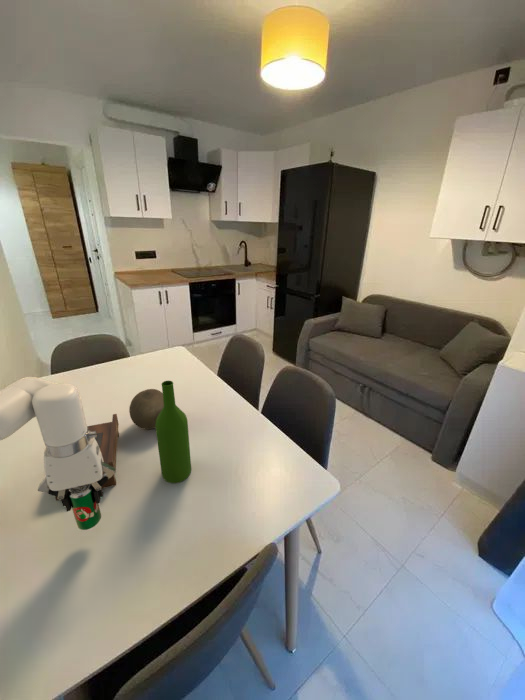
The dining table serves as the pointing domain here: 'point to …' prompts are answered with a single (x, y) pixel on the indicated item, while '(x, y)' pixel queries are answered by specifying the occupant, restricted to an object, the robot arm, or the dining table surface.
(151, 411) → the cantaloupe
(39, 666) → the dining table surface
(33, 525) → the dining table surface
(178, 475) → the wine bottle
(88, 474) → the robot arm
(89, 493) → the soda can
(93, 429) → the brown wooden box
